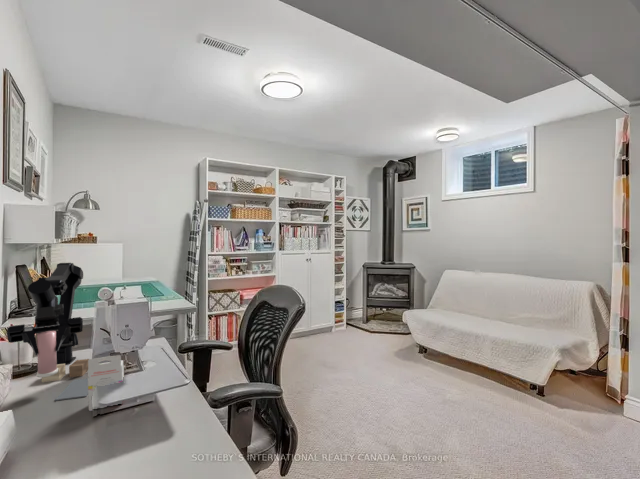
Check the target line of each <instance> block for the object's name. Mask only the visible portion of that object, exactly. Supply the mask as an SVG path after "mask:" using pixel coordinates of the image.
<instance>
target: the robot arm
mask: <svg viewBox="0 0 640 479" xmlns="http://www.w3.org/2000/svg"><path fill="white" fill-rule="evenodd" d="M83 279H84V271H83V269H82V268H81V267H79V266H77V265H75V264H74V263H73V262H60V263H57V264H56V268H55V269H54V270H53V272H52V273H51V275H50V276H46V277H38V279H37V280H34V281H33V282H32V283H31V282H30V284H29V285H28V286H27V290H28V292H29V294H30V297H31V298H32V300H33V302H34V303H35V304H36V308H35V309H36V310H35V313H36V314H35V317H34V325H35V326H26V324H24V323H23V324H17V325H16V324H15V325H10V326H8V327H7V329H6V337H7V340H8V343H10V344H11V343H13V344H14V343H20V342H23V344H25V343H27V344H29V347H31V349H32V351H33V352H34V355H35V356H38V350H37V337H36V335H37V334H38V333H41V332H45V331H56V354H57V364H65V365H71V364H72V362H74V361H75V360H76V359H77V356H73V347H76V346H78V345H79V337H78V333H82V332H83V327H84V325H83V318H82V317H81V316H79V317H72V314H73V308H74V300H75V294H76V293H75V292H76V290H77V288H78V287H79V286H80V285H82V284H81V283H82V280H83ZM58 296H60V297H58Z"/></svg>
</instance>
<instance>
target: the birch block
mask: <svg viewBox="0 0 640 479" xmlns="http://www.w3.org/2000/svg"><path fill="white" fill-rule="evenodd" d="M57 368H58V373H56V374H54V375H52V376H48V377H41V383H48V382H55V381H60V380H62V378H63V377H65V375H66V364H57Z"/></svg>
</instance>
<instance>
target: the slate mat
mask: <svg viewBox="0 0 640 479" xmlns="http://www.w3.org/2000/svg"><path fill="white" fill-rule="evenodd" d="M86 397H88V377H87V378H79V379H73V380H72V381H71V382H70V383H69V384H68V385H67V386H66V387H65V389H64V390H63V391H61V392H60V393H59V395H58V396H57V397H56V398H55V399H54V401H55V402H58V401H64V400H72V399H79V398H86Z"/></svg>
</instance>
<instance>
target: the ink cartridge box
mask: <svg viewBox="0 0 640 479" xmlns="http://www.w3.org/2000/svg"><path fill="white" fill-rule="evenodd" d="M88 359H89V360H88V371H87V372H86V373H87V378H88V395H87V399H88V402H87V403H88V411H89V412H91V411H93V410H92V396H93V392H94V391H95V388H96V386H105V385H110V384H114V383H120V382H122V381H123V377H124V378H125V370H124V359H123V360H122V356H121V355H120V354H117V355H112V356H111V355H110V356H103V357H97V358H88ZM104 361H106V362H104ZM108 361H109V362H108ZM100 362H103V363H100Z"/></svg>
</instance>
